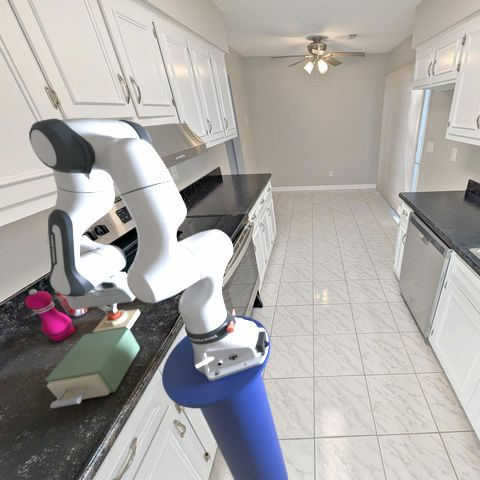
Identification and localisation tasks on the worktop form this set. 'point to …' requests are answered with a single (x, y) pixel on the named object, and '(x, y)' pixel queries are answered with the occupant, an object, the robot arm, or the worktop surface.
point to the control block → (118, 321)
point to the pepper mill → (49, 315)
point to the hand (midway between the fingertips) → (112, 312)
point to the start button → (113, 315)
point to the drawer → (77, 389)
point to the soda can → (67, 308)
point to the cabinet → (99, 357)
